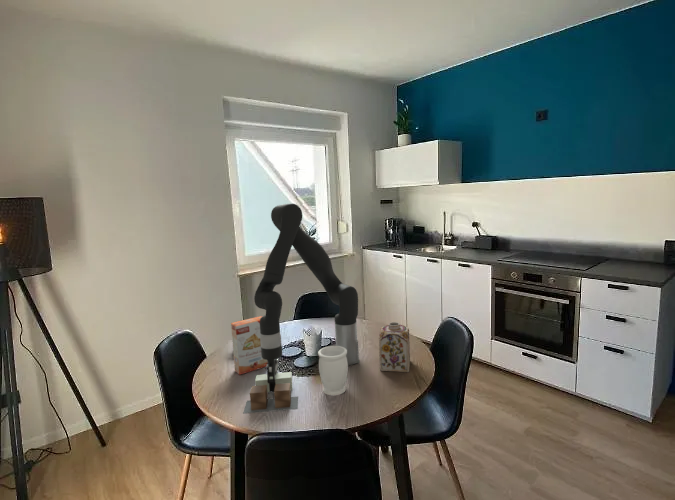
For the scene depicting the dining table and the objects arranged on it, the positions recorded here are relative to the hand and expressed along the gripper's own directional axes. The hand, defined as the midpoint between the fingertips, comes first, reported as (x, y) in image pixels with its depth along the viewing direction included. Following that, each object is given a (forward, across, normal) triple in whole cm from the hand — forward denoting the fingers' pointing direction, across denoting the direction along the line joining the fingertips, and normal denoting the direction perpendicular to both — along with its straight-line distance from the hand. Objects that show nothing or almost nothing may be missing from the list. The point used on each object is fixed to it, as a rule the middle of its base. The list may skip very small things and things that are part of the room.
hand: (274, 385), depth 139 cm
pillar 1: (+1, -11, +4) cm, 12 cm away
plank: (+2, 0, 0) cm, 2 cm away
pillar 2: (+1, -11, -4) cm, 12 cm away
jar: (+2, -4, -22) cm, 23 cm away
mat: (+1, -11, 0) cm, 11 cm away
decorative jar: (+2, +12, -48) cm, 50 cm away
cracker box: (+2, +20, +11) cm, 23 cm away
